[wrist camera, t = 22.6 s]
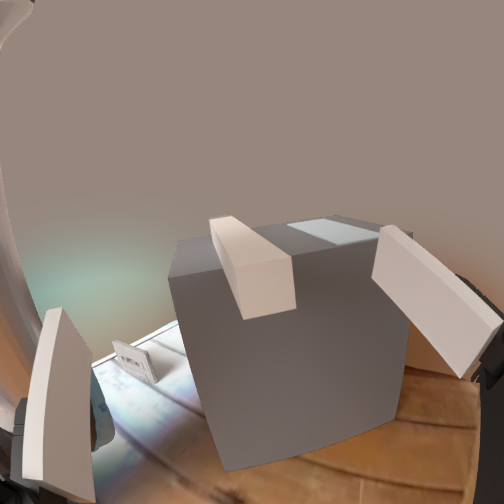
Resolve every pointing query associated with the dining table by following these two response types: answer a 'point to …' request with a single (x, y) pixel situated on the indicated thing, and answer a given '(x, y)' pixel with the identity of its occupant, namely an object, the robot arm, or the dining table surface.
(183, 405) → the dining table surface
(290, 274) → the bar
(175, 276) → the grey box
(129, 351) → the cassette
